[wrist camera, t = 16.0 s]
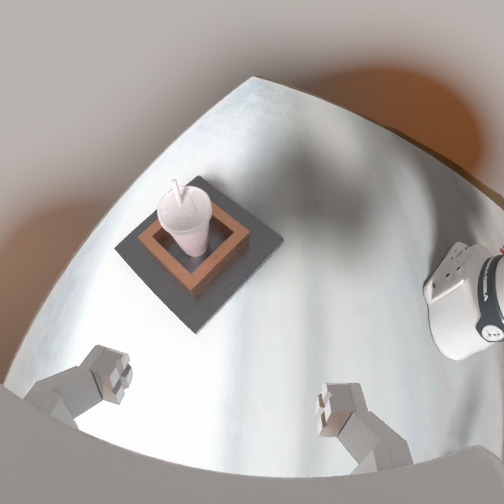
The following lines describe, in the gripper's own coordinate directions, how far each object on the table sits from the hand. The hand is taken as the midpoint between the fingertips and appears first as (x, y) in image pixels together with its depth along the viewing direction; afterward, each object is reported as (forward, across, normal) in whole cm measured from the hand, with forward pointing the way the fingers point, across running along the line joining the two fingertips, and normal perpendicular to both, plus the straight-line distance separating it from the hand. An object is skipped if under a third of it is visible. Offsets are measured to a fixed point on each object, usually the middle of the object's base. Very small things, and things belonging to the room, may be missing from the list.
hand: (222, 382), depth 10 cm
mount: (+30, +8, +6) cm, 31 cm away
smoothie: (+29, +8, +6) cm, 31 cm away
